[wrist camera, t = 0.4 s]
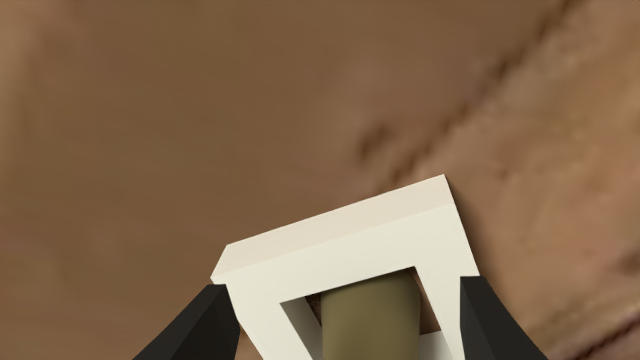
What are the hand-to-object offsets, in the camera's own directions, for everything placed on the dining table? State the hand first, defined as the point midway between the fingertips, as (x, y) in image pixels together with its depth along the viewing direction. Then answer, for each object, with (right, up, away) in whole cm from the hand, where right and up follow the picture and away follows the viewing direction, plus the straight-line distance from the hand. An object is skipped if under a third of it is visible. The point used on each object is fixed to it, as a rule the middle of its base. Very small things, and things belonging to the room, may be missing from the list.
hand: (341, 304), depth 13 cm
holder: (+2, -3, +13) cm, 14 cm away
